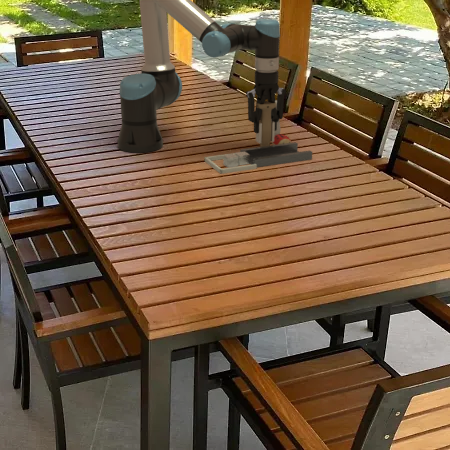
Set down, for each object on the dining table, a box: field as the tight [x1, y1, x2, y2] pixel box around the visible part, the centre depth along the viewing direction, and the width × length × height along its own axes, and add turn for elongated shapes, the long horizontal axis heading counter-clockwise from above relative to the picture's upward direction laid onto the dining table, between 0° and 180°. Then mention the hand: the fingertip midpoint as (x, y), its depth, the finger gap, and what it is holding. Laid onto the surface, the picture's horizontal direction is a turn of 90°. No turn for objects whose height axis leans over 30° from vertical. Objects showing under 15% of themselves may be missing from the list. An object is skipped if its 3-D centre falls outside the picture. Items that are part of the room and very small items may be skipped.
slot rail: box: [239, 141, 313, 168], centre depth 228 cm, size 20×11×4 cm, turn 113°
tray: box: [203, 152, 258, 175], centre depth 223 cm, size 12×13×2 cm
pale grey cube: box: [222, 153, 239, 168], centre depth 222 cm, size 4×4×4 cm
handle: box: [255, 100, 276, 147], centre depth 234 cm, size 5×6×15 cm
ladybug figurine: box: [271, 133, 293, 145], centre depth 243 cm, size 7×10×4 cm
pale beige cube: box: [234, 151, 250, 166], centre depth 224 cm, size 4×4×4 cm
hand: (264, 141), depth 236 cm, fingers closed on handle, 4 cm apart
